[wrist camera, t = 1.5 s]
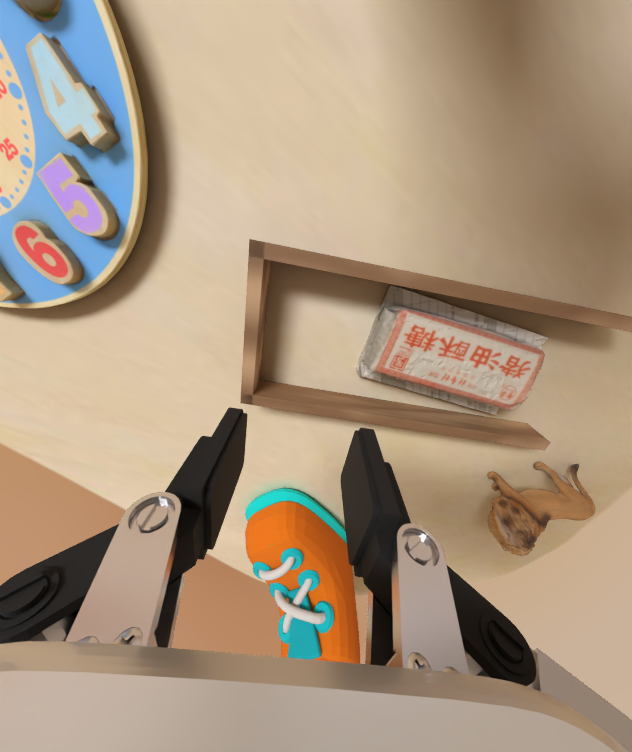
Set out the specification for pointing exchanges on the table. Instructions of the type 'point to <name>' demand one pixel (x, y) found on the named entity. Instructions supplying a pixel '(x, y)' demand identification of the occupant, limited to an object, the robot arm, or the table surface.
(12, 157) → the shape sorting clock
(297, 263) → the open-ended wooden frame
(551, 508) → the lion figurine
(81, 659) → the robot arm
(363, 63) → the table surface
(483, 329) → the packaged product
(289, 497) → the toy shoe
